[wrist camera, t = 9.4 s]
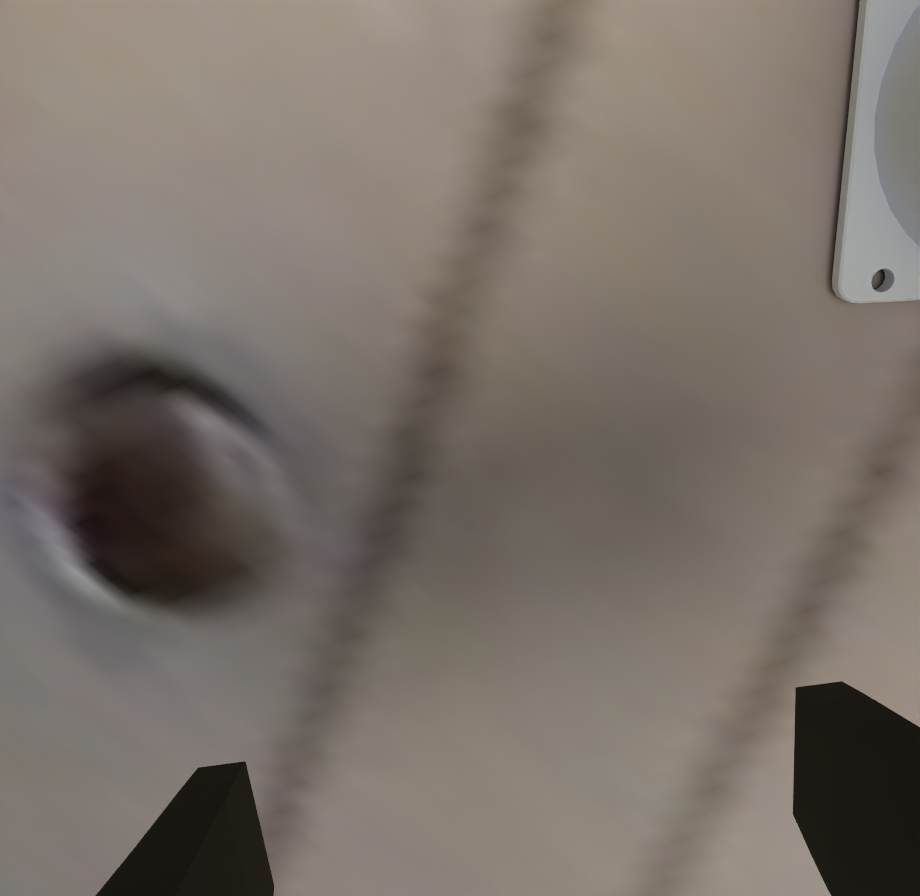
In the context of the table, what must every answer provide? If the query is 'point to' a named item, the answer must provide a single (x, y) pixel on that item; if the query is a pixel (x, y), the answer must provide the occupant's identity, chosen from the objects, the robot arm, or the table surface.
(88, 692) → the table surface
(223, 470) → the table surface
